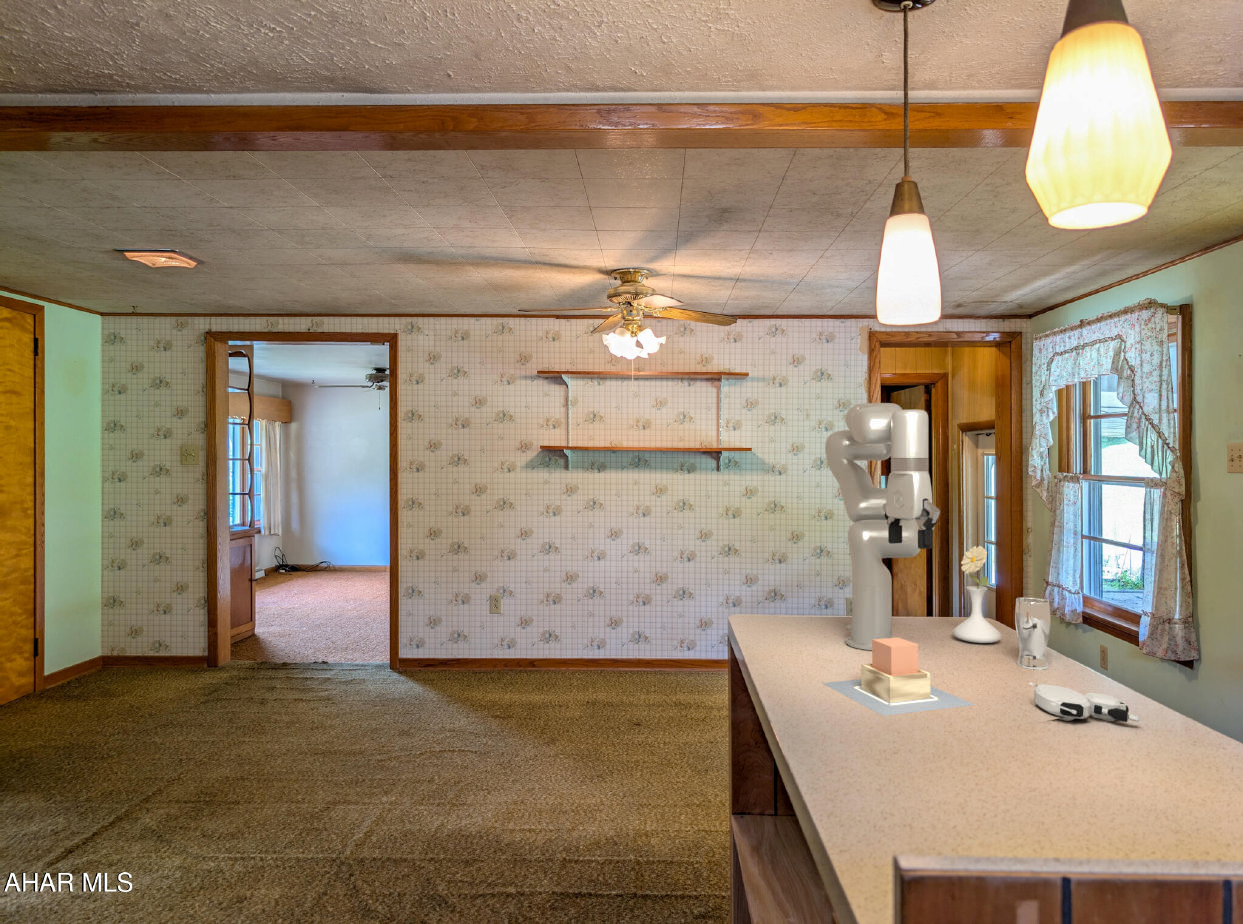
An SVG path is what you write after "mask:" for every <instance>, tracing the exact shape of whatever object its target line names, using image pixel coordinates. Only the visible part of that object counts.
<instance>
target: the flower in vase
mask: <svg viewBox="0 0 1243 924" xmlns="http://www.w3.org/2000/svg"><path fill="white" fill-rule="evenodd" d="M964 554H965V555H963V557H962V560H961V561H960V564H961V565H962V566H961V571H962V572H965V574H967V575H968V577H969V578H970V579H972V580H973V581H974V582H976V583H978V585H967V586H965V588H966V590H967V591H968V593H969V595H970V600H971V614H970V616H969V617H968V618H967V619H966V620H964V621H963V622H962V621H961V623H959V624H958V625H957V626H955V628H954V629H953V630H952V634H953V636H954V637H955V638H957V639H959V640H962V641H965V642H970V643H976V644H977V643H978V644H987V643H989V644H990V643H996V642H998V641H1000V640H1001V639H1002V638H1003V636H1002V635H1001V632H1000V631H999V630H998V629H997V628H996V627H995V626H994V625H992V624H991V623H990V622H988V620H987V619H985V617H984V616H983V612H982V607H983V606H982V603H983V598H984V595H985V593H986V592H987V590H988V587H986V586H990V583H989V580H988V576H984V573H983V570H982V567H983V566H984V563H986V561H987V556H988V555H987V554H988V551H987V550H986V549H985V548H983V546H981V545H979V546H976V545H975V546H973V547H972V548H970V549H969V550H968V551H965V552H964ZM979 570H980V573H981V574H980V575H981V577H980V579H978V578H977V577H975V576H974V575H973V574H972V573H976V572H977V571H979Z"/></svg>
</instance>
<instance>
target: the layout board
mask: <svg viewBox="0 0 1243 924" xmlns="http://www.w3.org/2000/svg"><path fill="white" fill-rule="evenodd" d="M822 684H823V685H824V686H827V688H828V687H829V688H831V689H832V690H834V691H836V692H838V693H839V694H841V695H843V696H845V697H848V698H849V699H851V700H852V701H855V702H857V703H859V704H860V705H863V706H864V707H866V708H868V709H870V710H871V711H873V712H875V713H878V714H879V715H882V716H883V717H886V716H893V715H903V714H912V713H918V712H920V713H921V712H927V711H935V710H944V709H945V710H946V709H952V708H961V707H969V706H976V703H972V702H971V701H968V700H965V699H963V698H961V697H958V696H956V695H954V694H951V693H949V692H947V691H944V690H942V689H939V688H938V687H935V686H932V685H930V698H929V699H920V700H911V701H902V702H893V703H890V702H887V701H885V700H883V699H881V698H879V697H877V696H875V695H873V694H871V693H869V692H867V691H865V690H863V689H862V688H861V678H858V679H849V680H840V681H830V682H828V681H827V682H822Z"/></svg>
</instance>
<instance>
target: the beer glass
mask: <svg viewBox="0 0 1243 924" xmlns="http://www.w3.org/2000/svg"><path fill="white" fill-rule="evenodd" d="M1014 618H1015V619H1014V624H1015V630H1016V635H1017V639H1018V645H1019V654H1018V659H1017V666H1019V667H1020V668H1024V669H1028V670H1033V669H1035V671H1044V670H1043V669H1046V670H1048V669H1049V663H1048V658H1047V657H1048V656H1047V647H1048V642H1049V637H1050V631H1051V619H1052V618H1051V607H1050V600H1049V599H1045V598H1040V597H1039V598H1037V597H1030V596H1029V597H1027V596H1023V597H1017V598H1016V599H1015V610H1014Z"/></svg>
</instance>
